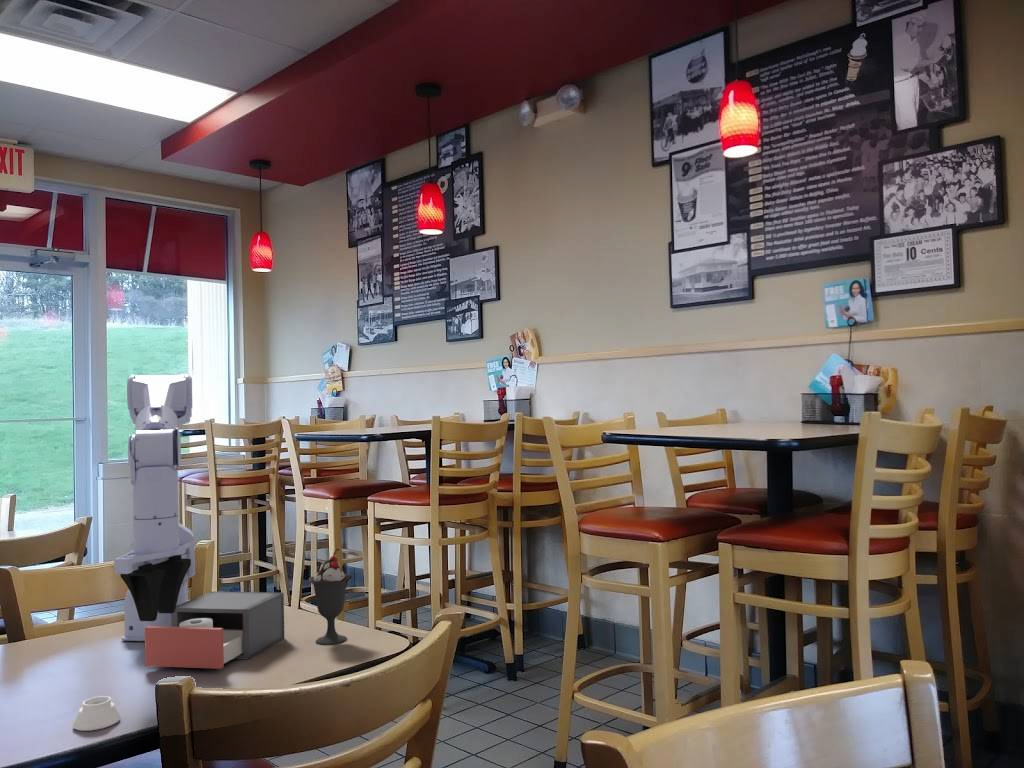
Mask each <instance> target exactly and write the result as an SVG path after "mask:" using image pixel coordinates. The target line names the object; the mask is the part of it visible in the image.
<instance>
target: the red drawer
mask: <svg viewBox="0 0 1024 768" xmlns="http://www.w3.org/2000/svg"><path fill="white" fill-rule="evenodd" d="M242 653H243V630H236V629H223V628H203V627H164V626H147V627H145V641H144V666H145V667H164V668H191V669H218V670H219V669H220V670H221V669H222V668H224V666H225V665H224V664H226V663H228V662H229V661H231V660H234V659H233V658H235V657H236V656H238V655H240V654H242Z"/></svg>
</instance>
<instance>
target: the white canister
mask: <svg viewBox="0 0 1024 768" xmlns="http://www.w3.org/2000/svg"><path fill="white" fill-rule="evenodd" d="M179 627H203V628H213V620H212V619H210V618H197V619H190V620H186V621H183V622H181V623H179Z"/></svg>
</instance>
